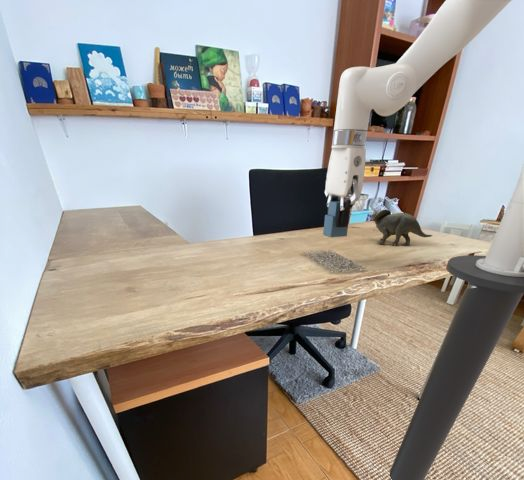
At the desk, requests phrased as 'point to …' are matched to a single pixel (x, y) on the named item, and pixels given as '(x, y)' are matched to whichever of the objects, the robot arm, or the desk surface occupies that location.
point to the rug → (334, 261)
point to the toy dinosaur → (396, 225)
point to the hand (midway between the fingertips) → (336, 224)
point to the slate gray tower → (333, 222)
